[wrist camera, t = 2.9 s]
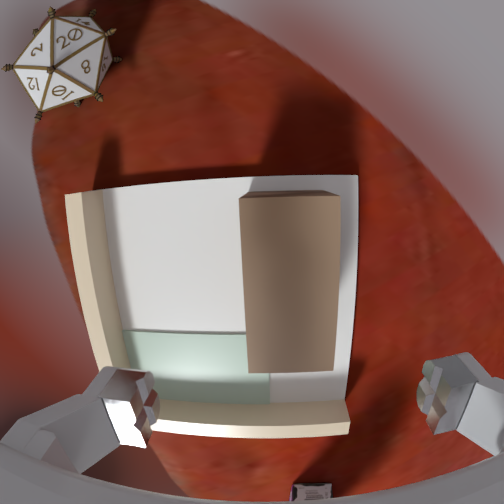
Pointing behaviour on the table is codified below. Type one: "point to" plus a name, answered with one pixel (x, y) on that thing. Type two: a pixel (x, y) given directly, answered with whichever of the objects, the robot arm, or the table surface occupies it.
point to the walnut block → (290, 279)
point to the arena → (202, 304)
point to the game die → (64, 61)
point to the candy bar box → (311, 492)
